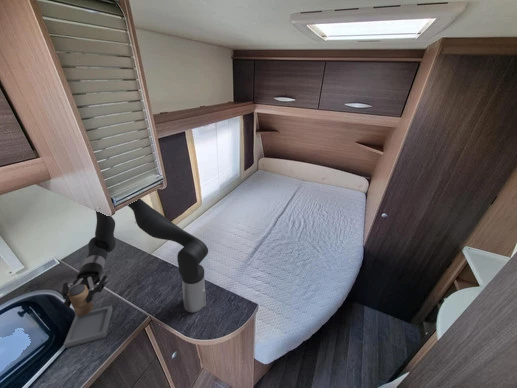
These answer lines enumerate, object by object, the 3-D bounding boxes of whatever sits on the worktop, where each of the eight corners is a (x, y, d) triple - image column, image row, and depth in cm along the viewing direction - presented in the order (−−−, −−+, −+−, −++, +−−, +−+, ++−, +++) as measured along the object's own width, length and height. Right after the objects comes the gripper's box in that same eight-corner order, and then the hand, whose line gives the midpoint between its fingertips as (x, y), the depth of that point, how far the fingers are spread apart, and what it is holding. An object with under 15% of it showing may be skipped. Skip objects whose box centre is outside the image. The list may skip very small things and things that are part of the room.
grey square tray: (112, 309, 88) (111, 305, 87) (105, 337, 78) (104, 333, 77) (77, 317, 83) (76, 313, 82) (65, 348, 74) (63, 344, 73)
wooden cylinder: (95, 301, 80) (88, 281, 75) (91, 313, 76) (83, 292, 71) (78, 305, 78) (70, 284, 73) (73, 318, 74) (64, 296, 69)
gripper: (67, 265, 82) (47, 302, 68) (110, 258, 87) (100, 291, 73) (72, 279, 85) (54, 317, 71) (114, 271, 90) (104, 305, 76)
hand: (77, 303), depth 72 cm, fingers closed on wooden cylinder, 5 cm apart
